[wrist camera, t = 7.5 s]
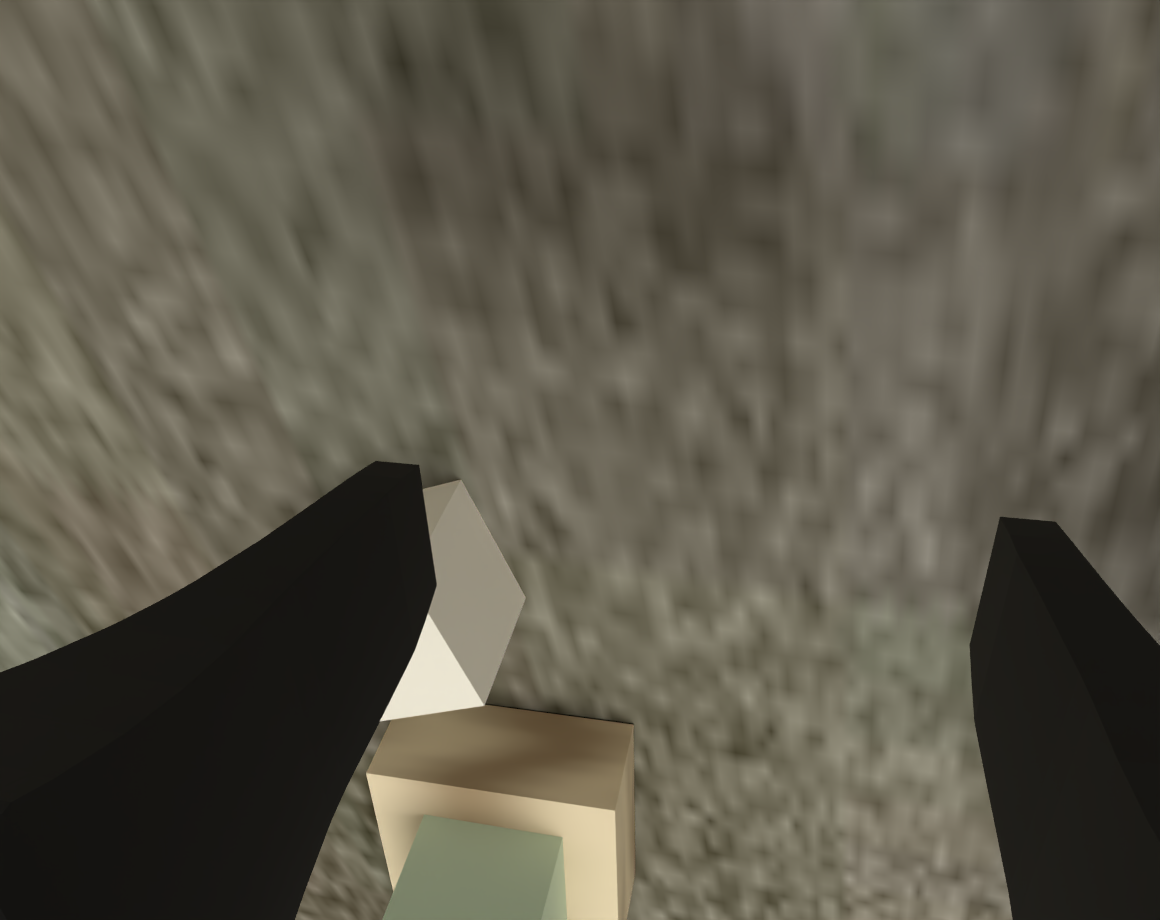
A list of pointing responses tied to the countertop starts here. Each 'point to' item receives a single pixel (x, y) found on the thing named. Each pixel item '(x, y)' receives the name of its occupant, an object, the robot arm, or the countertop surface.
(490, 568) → the ivory block
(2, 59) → the countertop surface
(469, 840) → the sage block
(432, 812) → the maple block
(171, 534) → the countertop surface
